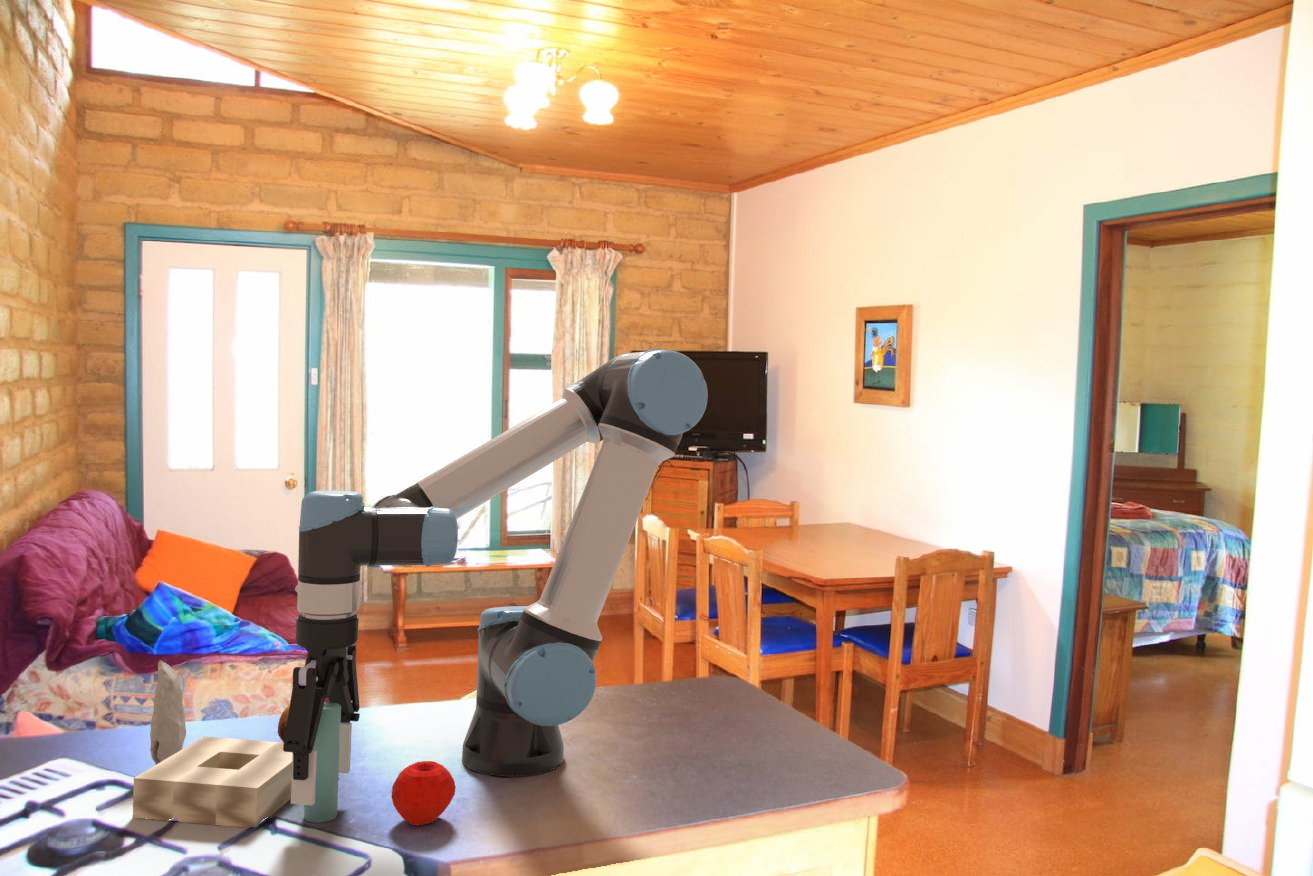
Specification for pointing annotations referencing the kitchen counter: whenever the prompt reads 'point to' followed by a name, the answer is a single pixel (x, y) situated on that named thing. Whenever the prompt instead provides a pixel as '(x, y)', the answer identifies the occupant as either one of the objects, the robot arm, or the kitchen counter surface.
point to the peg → (326, 766)
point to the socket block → (216, 783)
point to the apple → (423, 792)
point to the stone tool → (167, 715)
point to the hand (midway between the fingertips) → (321, 786)
